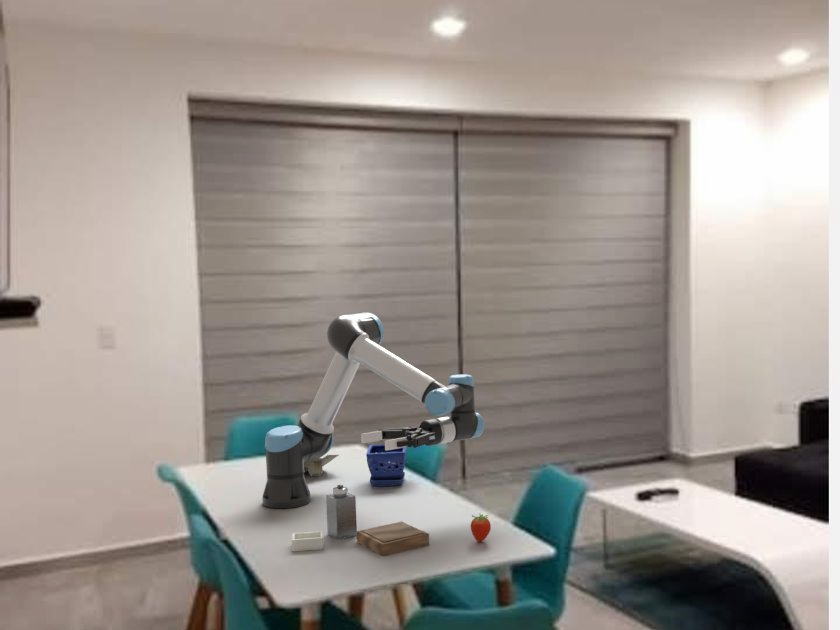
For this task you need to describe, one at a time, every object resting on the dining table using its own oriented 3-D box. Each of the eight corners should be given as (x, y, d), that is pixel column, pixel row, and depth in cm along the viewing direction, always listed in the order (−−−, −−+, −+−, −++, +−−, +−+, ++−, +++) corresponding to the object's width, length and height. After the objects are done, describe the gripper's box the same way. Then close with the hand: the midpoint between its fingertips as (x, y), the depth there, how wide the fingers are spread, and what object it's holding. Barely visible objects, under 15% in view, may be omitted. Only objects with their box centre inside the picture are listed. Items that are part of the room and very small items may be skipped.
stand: (357, 542, 236) (356, 530, 236) (401, 532, 244) (401, 520, 244) (383, 556, 225) (382, 543, 224) (429, 544, 232) (428, 532, 232)
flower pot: (406, 487, 293) (405, 451, 292) (367, 488, 293) (365, 452, 292) (408, 477, 306) (406, 443, 305) (370, 478, 306) (368, 444, 306)
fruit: (478, 537, 237) (477, 508, 236) (494, 540, 233) (493, 511, 233) (466, 543, 233) (465, 513, 232) (483, 546, 229) (482, 516, 229)
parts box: (292, 551, 231) (292, 540, 231) (293, 544, 237) (292, 533, 237) (323, 549, 232) (322, 537, 232) (322, 542, 238) (322, 531, 238)
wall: (285, 490, 310) (303, 467, 301) (279, 469, 315) (297, 445, 306) (326, 489, 319) (344, 466, 311) (319, 468, 324) (338, 446, 316)
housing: (327, 534, 245) (325, 485, 244) (346, 530, 248) (344, 481, 247) (337, 539, 240) (335, 489, 239) (357, 535, 243) (355, 485, 242)
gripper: (461, 450, 249) (396, 462, 238) (414, 438, 270) (353, 448, 259) (460, 424, 249) (395, 434, 237) (413, 413, 270) (351, 423, 259)
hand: (373, 442), depth 248 cm, fingers open, 13 cm apart
